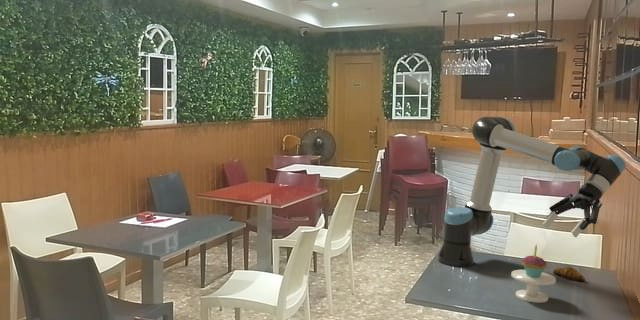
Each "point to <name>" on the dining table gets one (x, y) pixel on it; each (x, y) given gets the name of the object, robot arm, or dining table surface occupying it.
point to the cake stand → (532, 286)
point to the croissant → (569, 274)
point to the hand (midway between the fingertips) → (558, 230)
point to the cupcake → (533, 265)
